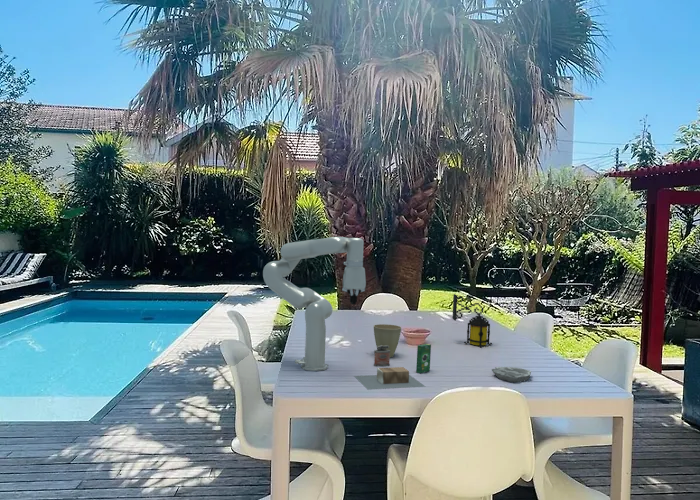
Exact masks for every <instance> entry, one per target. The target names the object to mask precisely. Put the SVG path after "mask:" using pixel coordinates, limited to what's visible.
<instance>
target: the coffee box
mask: <svg viewBox="0 0 700 500" xmlns="http://www.w3.org/2000/svg"><path fill="white" fill-rule="evenodd" d="M416 350H417V352H416V367H415V369H416V370H415V371H416V372H415V373H417V374H423V373H427V372H430V371H431V352H432V343H431V344H430V343H423V344H418V345H417V349H416Z"/></svg>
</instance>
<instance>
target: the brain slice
mask: <svg viewBox="0 0 700 500" xmlns="http://www.w3.org/2000/svg"><path fill="white" fill-rule="evenodd" d="M491 371H492V373H493V374H494V375H495V377H497V378H498V379H500V380H501V381H505V382H509V383H521V382H525V381H528V380H529V379H530V377H531V373H532V370H528V369H525V368H521V367H512V366H509V367H508V366H495V367H494V368H491Z"/></svg>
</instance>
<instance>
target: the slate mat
mask: <svg viewBox="0 0 700 500" xmlns="http://www.w3.org/2000/svg"><path fill="white" fill-rule="evenodd" d="M353 377H354V378H355V379H356V380H357V381H358V382H359V383H360V384H362V385H363V387H365V388H366V390H368V391H369V390H384V389H385V390H386V389H387V390H389V389H404V388H405V389H406V388H409V389H410V388H425V387H426V386H425V385H424V384H423V383H421V382H420V381H419V380H417V378H415V377H413V376H412V375H410V374H409V383H391V384H381V383H380V382H379V381H378V380H377V374H372V375H371V374H369V375H354V376H353Z"/></svg>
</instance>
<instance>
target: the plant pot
mask: <svg viewBox="0 0 700 500" xmlns="http://www.w3.org/2000/svg"><path fill="white" fill-rule="evenodd" d="M401 332H402V326H400V325H397V324H387V323H384V324H380V323H379V324H374V325H373V335H374V341H375V346H376V347H377V346H380V345H382V346H386V345H388V346H389V348H386V350H390V358H393V357H394V355H395V352H396V351H397V348H398V344H399V340H400V337H401ZM384 350H385V348H384ZM390 358H389V359H390Z"/></svg>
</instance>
